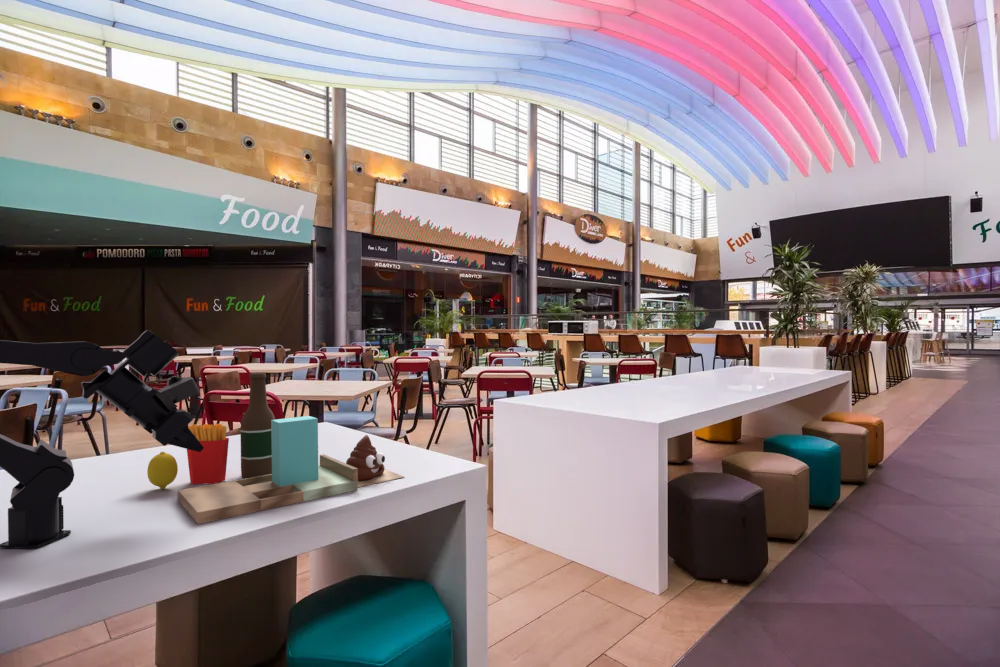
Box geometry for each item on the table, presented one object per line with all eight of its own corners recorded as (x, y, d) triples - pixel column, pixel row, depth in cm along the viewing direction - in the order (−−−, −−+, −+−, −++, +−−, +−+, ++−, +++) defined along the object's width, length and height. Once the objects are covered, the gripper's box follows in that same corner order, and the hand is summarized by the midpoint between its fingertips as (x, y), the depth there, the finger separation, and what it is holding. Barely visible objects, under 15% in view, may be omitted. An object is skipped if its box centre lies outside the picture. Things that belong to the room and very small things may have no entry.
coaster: (351, 488, 114) (351, 487, 114) (326, 476, 124) (326, 475, 124) (404, 477, 123) (404, 476, 123) (377, 466, 132) (377, 466, 132)
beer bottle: (264, 479, 122) (263, 374, 122) (233, 478, 123) (232, 374, 123) (283, 470, 130) (282, 371, 130) (254, 470, 131) (252, 371, 131)
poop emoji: (365, 469, 130) (364, 430, 130) (393, 473, 126) (392, 433, 126) (335, 479, 121) (334, 438, 121) (364, 484, 117) (364, 441, 117)
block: (279, 486, 109) (279, 422, 109) (272, 481, 113) (271, 420, 113) (318, 479, 114) (317, 418, 114) (309, 474, 118) (308, 415, 118)
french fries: (231, 478, 123) (231, 422, 123) (222, 483, 119) (221, 425, 119) (192, 479, 123) (191, 422, 123) (180, 484, 119) (180, 425, 119)
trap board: (197, 523, 94) (197, 498, 94) (178, 500, 108) (178, 477, 108) (357, 489, 113) (357, 468, 113) (324, 473, 127) (323, 454, 127)
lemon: (163, 493, 112) (163, 455, 112) (141, 491, 114) (140, 454, 114) (183, 485, 118) (183, 449, 118) (162, 484, 119) (162, 448, 119)
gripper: (179, 364, 92) (247, 422, 99) (161, 361, 106) (222, 412, 113) (123, 415, 87) (199, 472, 94) (112, 404, 101) (179, 454, 108)
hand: (201, 449), depth 102 cm, fingers closed
